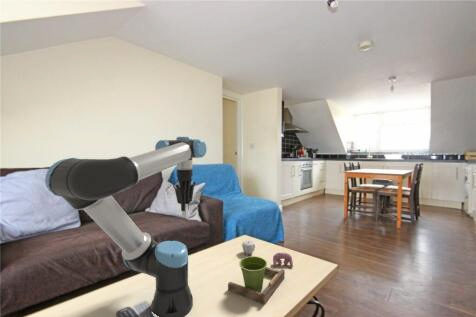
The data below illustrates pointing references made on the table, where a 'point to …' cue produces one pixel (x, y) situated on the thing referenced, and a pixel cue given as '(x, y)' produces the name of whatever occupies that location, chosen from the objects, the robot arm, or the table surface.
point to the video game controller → (282, 256)
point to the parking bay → (267, 291)
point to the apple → (248, 247)
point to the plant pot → (253, 272)
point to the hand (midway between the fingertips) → (185, 217)
